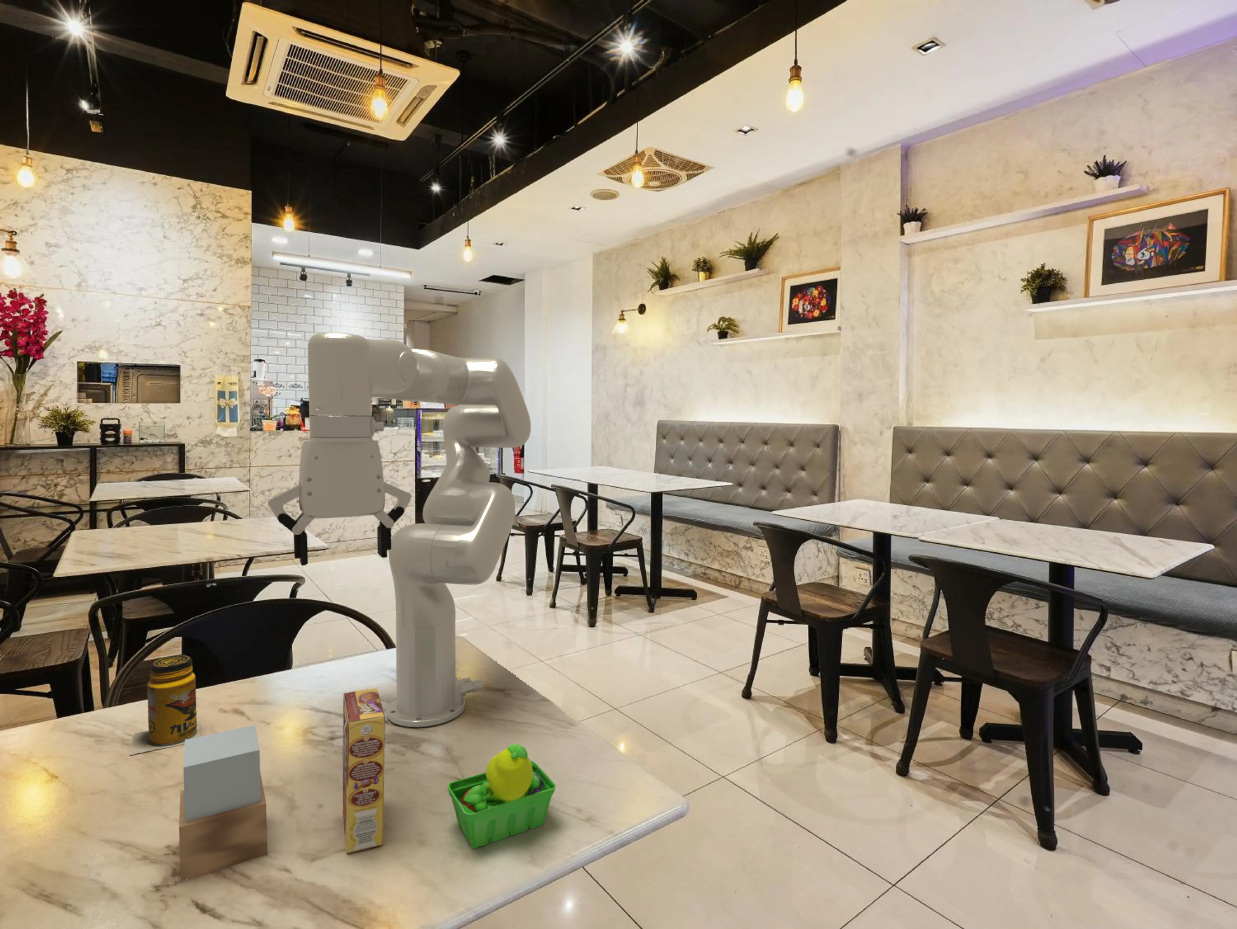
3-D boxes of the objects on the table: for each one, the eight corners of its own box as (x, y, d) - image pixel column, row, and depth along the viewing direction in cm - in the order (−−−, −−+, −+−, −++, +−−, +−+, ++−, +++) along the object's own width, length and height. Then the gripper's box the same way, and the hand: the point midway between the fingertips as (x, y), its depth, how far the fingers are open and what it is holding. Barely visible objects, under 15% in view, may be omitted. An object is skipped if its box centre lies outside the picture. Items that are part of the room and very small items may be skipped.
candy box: (387, 845, 73) (385, 715, 72) (346, 856, 71) (344, 722, 71) (379, 803, 81) (377, 686, 80) (342, 812, 79) (340, 692, 79)
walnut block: (261, 818, 78) (260, 770, 78) (267, 855, 72) (266, 803, 71) (182, 841, 74) (180, 790, 73) (180, 882, 67) (179, 827, 67)
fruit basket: (531, 795, 84) (531, 711, 83) (563, 832, 76) (563, 740, 75) (445, 824, 77) (444, 733, 77) (470, 867, 70) (470, 767, 69)
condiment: (199, 741, 97) (197, 663, 96) (129, 756, 92) (126, 675, 91) (199, 722, 103) (197, 648, 102) (133, 735, 98) (130, 659, 97)
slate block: (256, 773, 77) (255, 724, 77) (260, 802, 72) (259, 749, 71) (186, 790, 74) (185, 739, 73) (185, 822, 68) (183, 767, 67)
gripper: (403, 429, 91) (405, 548, 92) (264, 429, 82) (268, 560, 84) (416, 430, 85) (417, 558, 86) (266, 430, 76) (270, 573, 77)
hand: (344, 559), depth 85 cm, fingers open, 9 cm apart
